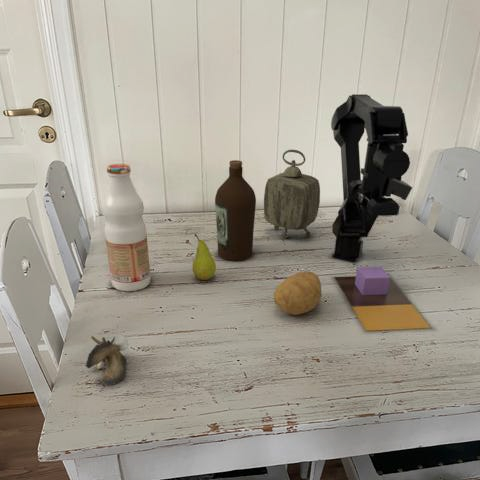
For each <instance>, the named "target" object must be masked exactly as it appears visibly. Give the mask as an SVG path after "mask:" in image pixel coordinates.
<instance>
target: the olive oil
mask: <svg viewBox="0 0 480 480" xmlns="http://www.w3.org/2000/svg"><path fill="white" fill-rule="evenodd" d="M256 205H257V197H256V193H255V191H254V188H253V187H252V186H251V184H249V182H247V181H246V180H245V178H244V176H243V161H242V160H238V159H234V160H230V161H229V167H228V177H227V179H226V180H224V182H223V183H222V184H221V185H220V186H219V187H218V189H217V191H216V194H215V197H214V208H215V221H216V222H215V224H216V237H217V238H216V241H217V255H218V258H219V257H220V259H222V260H224V261H225V260H226V261H228V262H242V261H245V260H248V259H250V258H251V257H252V256H253V246H254V244H253V243H254V229H255V220H256V219H255V217H256Z"/></svg>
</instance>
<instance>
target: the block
mask: <svg viewBox="0 0 480 480" xmlns="http://www.w3.org/2000/svg"><path fill="white" fill-rule="evenodd" d="M355 276H356V279H355V285H356V286H357V288H358V289H359V291H360V292H361V294H362V295H384V294H387V291H388V286H389V281H390V278H391V277H390V275H389V274H388V273H387V272H386V270H385V269H384V268H383V267H382V266H358V267H356V274H355Z"/></svg>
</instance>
